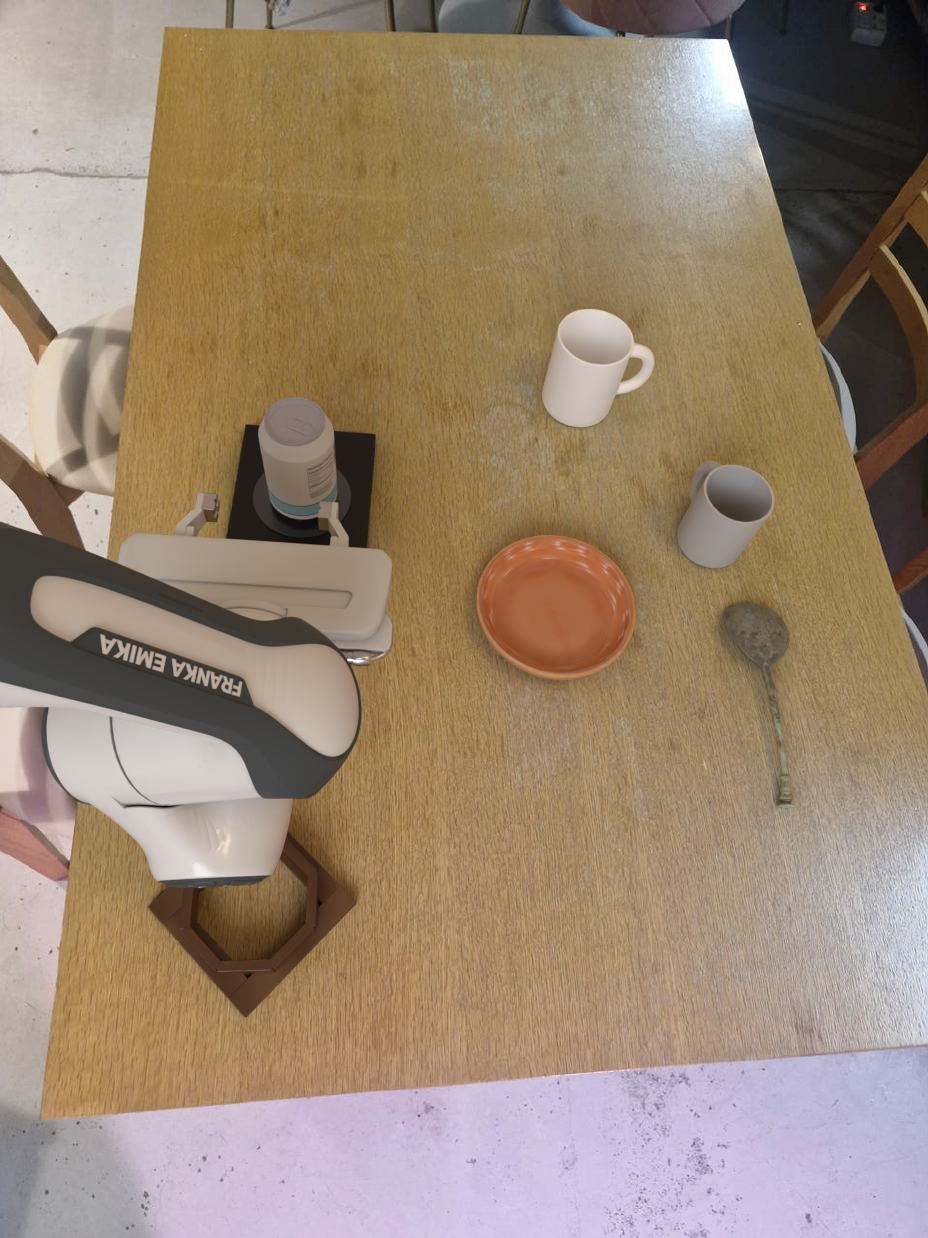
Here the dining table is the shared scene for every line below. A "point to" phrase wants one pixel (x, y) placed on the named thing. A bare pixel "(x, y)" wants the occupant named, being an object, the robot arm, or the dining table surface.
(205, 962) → the can holder
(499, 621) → the saucer
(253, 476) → the hob
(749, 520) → the cup
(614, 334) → the mug
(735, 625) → the soupspoon
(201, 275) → the dining table surface
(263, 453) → the beverage can
